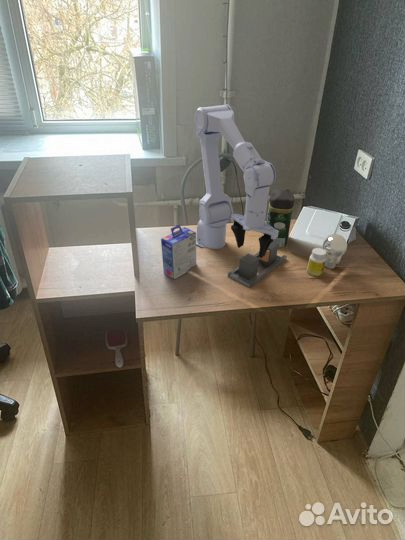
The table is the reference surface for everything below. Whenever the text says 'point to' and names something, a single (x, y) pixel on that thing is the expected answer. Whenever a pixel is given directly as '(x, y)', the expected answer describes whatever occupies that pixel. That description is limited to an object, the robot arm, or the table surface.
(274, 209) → the coffee jar
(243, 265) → the grey square block
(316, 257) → the supplement bottle
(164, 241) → the ink cartridge box
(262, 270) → the rail
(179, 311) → the table surface
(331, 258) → the light bulb
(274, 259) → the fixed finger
